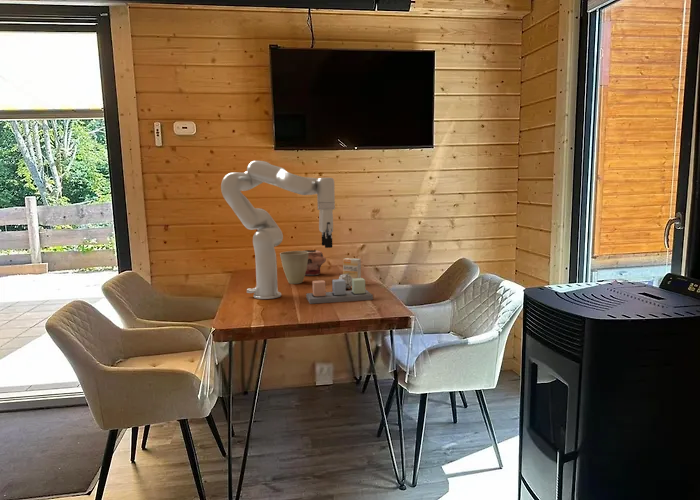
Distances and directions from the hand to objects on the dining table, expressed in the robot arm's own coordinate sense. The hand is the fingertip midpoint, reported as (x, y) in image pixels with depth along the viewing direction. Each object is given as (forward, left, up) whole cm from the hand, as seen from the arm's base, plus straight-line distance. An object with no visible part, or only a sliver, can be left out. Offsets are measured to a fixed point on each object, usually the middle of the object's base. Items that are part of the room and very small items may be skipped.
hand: (327, 246), depth 216 cm
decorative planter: (0, +64, -24) cm, 68 cm away
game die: (+12, +19, -24) cm, 33 cm away
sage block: (+14, 0, -22) cm, 26 cm away
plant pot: (-10, +43, -24) cm, 50 cm away
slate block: (+5, 0, -22) cm, 22 cm away
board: (+5, 0, -24) cm, 24 cm away
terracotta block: (-4, 0, -22) cm, 22 cm away
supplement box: (+18, +31, -24) cm, 43 cm away
